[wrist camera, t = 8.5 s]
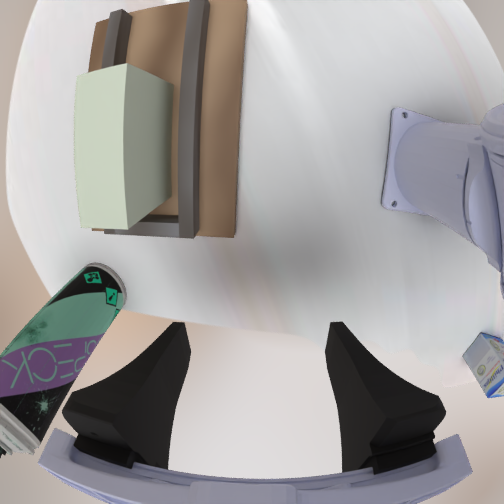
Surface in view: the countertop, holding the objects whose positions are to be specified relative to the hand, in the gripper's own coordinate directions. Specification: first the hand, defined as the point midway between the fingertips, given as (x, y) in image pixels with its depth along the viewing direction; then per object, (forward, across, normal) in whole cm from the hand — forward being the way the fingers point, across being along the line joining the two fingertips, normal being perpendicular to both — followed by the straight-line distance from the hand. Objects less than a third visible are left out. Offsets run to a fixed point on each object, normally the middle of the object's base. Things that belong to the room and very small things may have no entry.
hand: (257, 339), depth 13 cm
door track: (+9, +7, -12) cm, 17 cm away
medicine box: (+10, -32, +15) cm, 37 cm away
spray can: (+10, +15, +3) cm, 18 cm away
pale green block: (+8, +7, -10) cm, 15 cm away
